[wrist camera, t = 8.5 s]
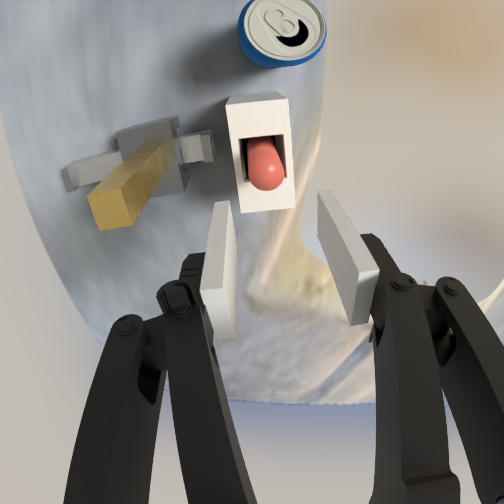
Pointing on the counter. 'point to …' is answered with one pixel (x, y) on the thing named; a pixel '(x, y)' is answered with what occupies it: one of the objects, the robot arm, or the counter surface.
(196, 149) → the rail
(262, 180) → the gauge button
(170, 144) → the carriage
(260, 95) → the end cabinet
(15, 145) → the counter surface
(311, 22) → the beverage can
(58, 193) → the counter surface
